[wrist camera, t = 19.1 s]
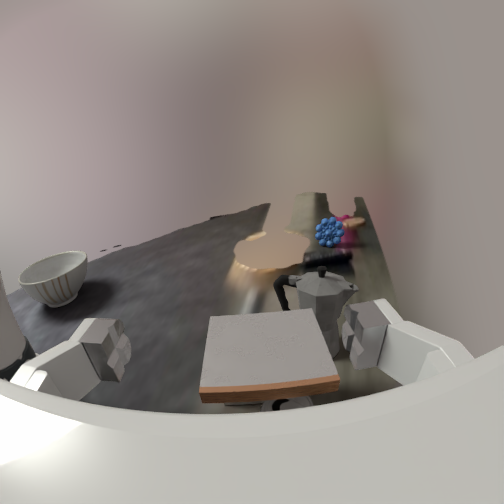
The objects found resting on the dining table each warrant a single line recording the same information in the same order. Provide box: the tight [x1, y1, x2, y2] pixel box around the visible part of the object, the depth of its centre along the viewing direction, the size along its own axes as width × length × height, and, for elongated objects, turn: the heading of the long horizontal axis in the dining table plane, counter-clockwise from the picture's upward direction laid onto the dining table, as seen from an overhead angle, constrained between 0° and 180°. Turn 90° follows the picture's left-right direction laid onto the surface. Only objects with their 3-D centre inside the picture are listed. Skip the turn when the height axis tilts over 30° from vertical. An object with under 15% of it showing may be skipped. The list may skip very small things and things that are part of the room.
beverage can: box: [260, 396, 314, 412], centre depth 29 cm, size 6×6×12 cm
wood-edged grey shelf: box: [199, 308, 340, 405], centre depth 34 cm, size 14×14×16 cm
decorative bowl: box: [18, 251, 87, 307], centre depth 74 cm, size 27×27×12 cm
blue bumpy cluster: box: [315, 217, 344, 247], centre depth 102 cm, size 12×7×12 cm, turn 56°
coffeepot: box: [274, 266, 358, 359], centre depth 49 cm, size 15×9×18 cm, turn 66°
